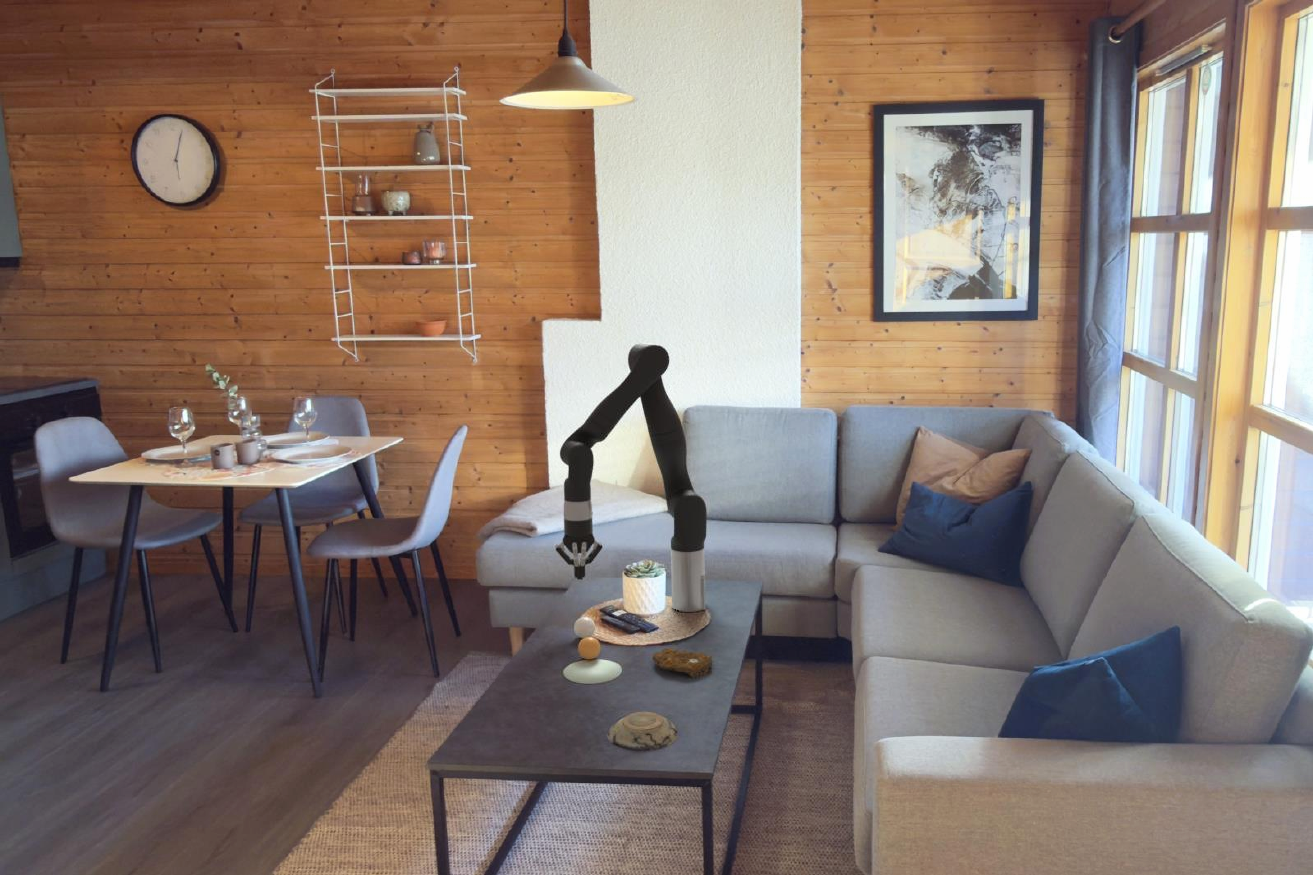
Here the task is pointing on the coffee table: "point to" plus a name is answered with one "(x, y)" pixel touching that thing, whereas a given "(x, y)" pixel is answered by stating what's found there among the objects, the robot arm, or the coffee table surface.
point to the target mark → (592, 671)
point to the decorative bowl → (643, 732)
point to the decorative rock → (683, 661)
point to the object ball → (589, 648)
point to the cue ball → (584, 627)
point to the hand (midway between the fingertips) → (579, 578)
